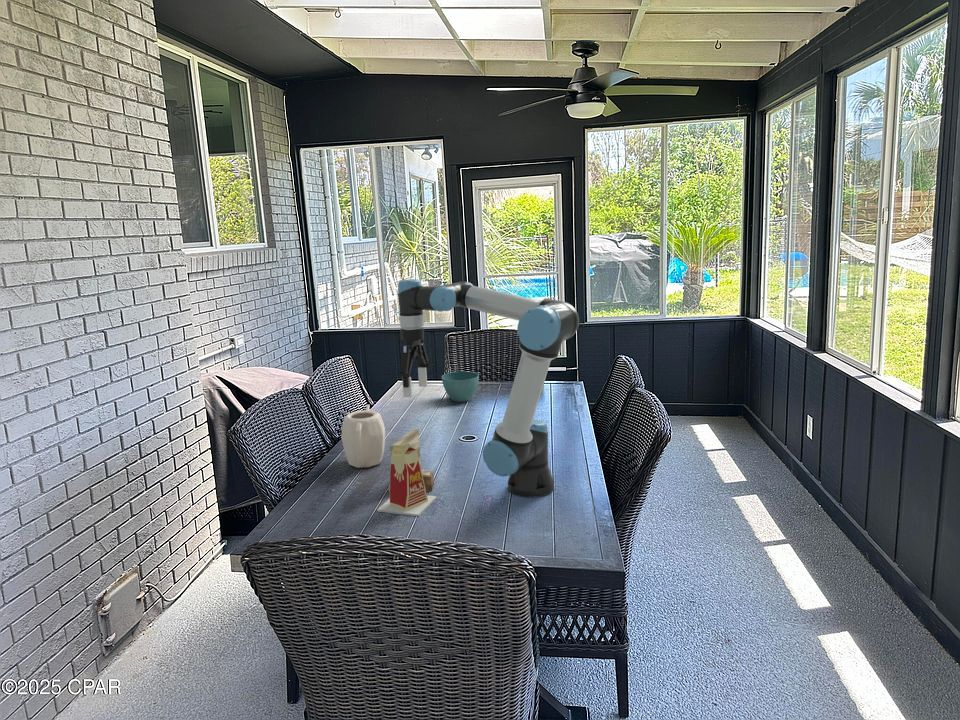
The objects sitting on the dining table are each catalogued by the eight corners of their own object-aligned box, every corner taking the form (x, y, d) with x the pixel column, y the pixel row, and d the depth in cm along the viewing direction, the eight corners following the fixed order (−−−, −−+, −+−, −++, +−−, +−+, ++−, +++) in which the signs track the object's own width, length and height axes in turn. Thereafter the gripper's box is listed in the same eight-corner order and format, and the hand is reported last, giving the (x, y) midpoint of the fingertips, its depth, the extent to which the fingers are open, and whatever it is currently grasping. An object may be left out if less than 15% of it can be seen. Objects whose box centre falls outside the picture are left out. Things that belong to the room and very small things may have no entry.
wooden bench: (426, 473, 236) (423, 429, 233) (404, 493, 219) (401, 446, 216) (410, 471, 238) (408, 428, 235) (387, 491, 221) (384, 445, 218)
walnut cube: (434, 485, 225) (433, 470, 224) (432, 490, 220) (431, 476, 219) (419, 485, 226) (418, 470, 225) (417, 491, 221) (416, 476, 220)
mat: (436, 498, 214) (436, 496, 214) (418, 516, 201) (418, 514, 201) (397, 493, 219) (397, 492, 219) (377, 511, 206) (377, 509, 206)
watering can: (391, 449, 262) (388, 402, 259) (382, 474, 236) (378, 423, 232) (351, 450, 262) (348, 404, 259) (338, 476, 236) (334, 424, 232)
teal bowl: (479, 404, 322) (478, 379, 319) (441, 405, 322) (440, 380, 320) (479, 394, 340) (478, 370, 337) (444, 395, 340) (442, 372, 337)
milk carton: (428, 501, 211) (424, 440, 207) (406, 511, 204) (402, 448, 200) (408, 494, 217) (404, 435, 212) (386, 504, 210) (382, 443, 206)
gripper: (415, 321, 229) (418, 382, 233) (385, 334, 206) (389, 400, 210) (436, 321, 227) (439, 382, 231) (408, 334, 204) (412, 401, 208)
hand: (415, 391), depth 221 cm, fingers open, 13 cm apart
